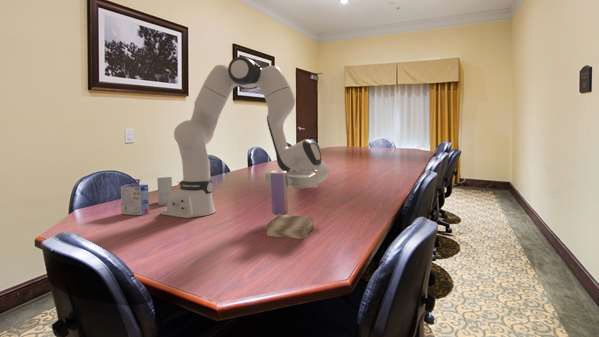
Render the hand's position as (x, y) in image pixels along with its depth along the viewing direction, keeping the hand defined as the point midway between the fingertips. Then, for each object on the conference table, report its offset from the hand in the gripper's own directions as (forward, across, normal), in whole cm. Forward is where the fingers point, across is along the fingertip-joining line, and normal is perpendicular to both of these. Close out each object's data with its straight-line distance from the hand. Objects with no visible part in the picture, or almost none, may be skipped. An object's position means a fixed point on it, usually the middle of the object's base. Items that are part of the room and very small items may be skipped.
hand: (276, 182), depth 127 cm
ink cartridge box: (+16, -64, +17) cm, 68 cm away
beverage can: (-1, +1, +11) cm, 11 cm away
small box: (-3, -71, +17) cm, 73 cm away
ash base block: (-1, +5, +17) cm, 18 cm away
